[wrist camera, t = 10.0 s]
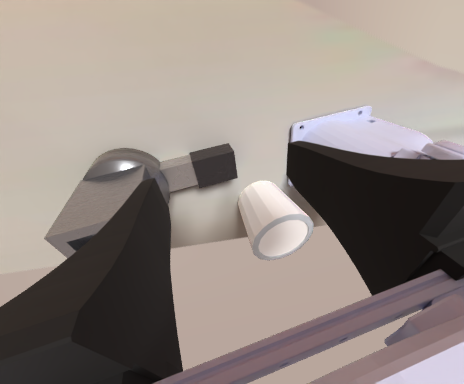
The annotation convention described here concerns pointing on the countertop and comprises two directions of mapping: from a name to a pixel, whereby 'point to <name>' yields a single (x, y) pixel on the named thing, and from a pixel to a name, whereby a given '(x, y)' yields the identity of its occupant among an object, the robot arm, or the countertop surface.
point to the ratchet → (172, 167)
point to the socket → (93, 208)
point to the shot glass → (273, 221)
